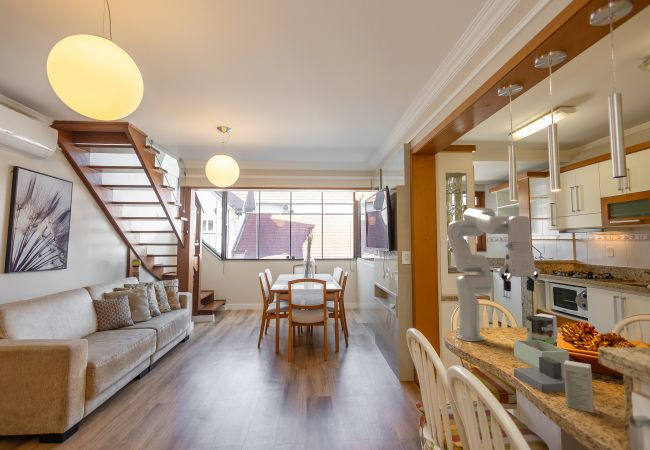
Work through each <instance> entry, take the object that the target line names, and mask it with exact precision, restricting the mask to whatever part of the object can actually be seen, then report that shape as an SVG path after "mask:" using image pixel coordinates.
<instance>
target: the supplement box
mask: <svg viewBox="0 0 650 450" xmlns="http://www.w3.org/2000/svg"><path fill="white" fill-rule="evenodd" d="M532 316H543V317H548V318H552V319H553V332H554V344H556V343H555V342H556V339H557V340H558V327H557V324H558V321H557V316H556V315H551V314H546V313H539V314H534V315H532Z"/></svg>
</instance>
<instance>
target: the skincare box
mask: <svg viewBox="0 0 650 450" xmlns="http://www.w3.org/2000/svg"><path fill="white" fill-rule="evenodd" d="M563 365H564V379H565V406H566V407H568V408H572V409H575V410H579V411H580V410H581V411H583V412H588V413H594V411H595V402H594V401H595V400H594V390H593V389H594V387H593V376H592V365H591V364H590V363H584V362H578V361H572V360H569V361H568V360H565V361H564V363H563Z"/></svg>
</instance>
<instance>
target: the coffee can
mask: <svg viewBox="0 0 650 450" xmlns="http://www.w3.org/2000/svg"><path fill="white" fill-rule="evenodd" d="M525 319H526V340H540V341H543V342H545V343H548V344H551V345H553V346H555V343H554V332H553V319H552V318H548V317H543V316H533V315H526V316H525Z"/></svg>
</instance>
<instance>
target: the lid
mask: <svg viewBox="0 0 650 450" xmlns="http://www.w3.org/2000/svg"><path fill="white" fill-rule="evenodd" d="M513 377H515V378H517V379H518V380H520V381H522V382H523V383H526V384H527V385H529V386H530V387H532V388H534V389H535V390H537V391H538V392H541V393H562V392H565V379H564V370H563V369H561V363H560V362H558V361H555V360H553V359H551V358H549V357H539V368H534V367H523V368H521V367H520V368H519V367H518V368H513Z"/></svg>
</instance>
